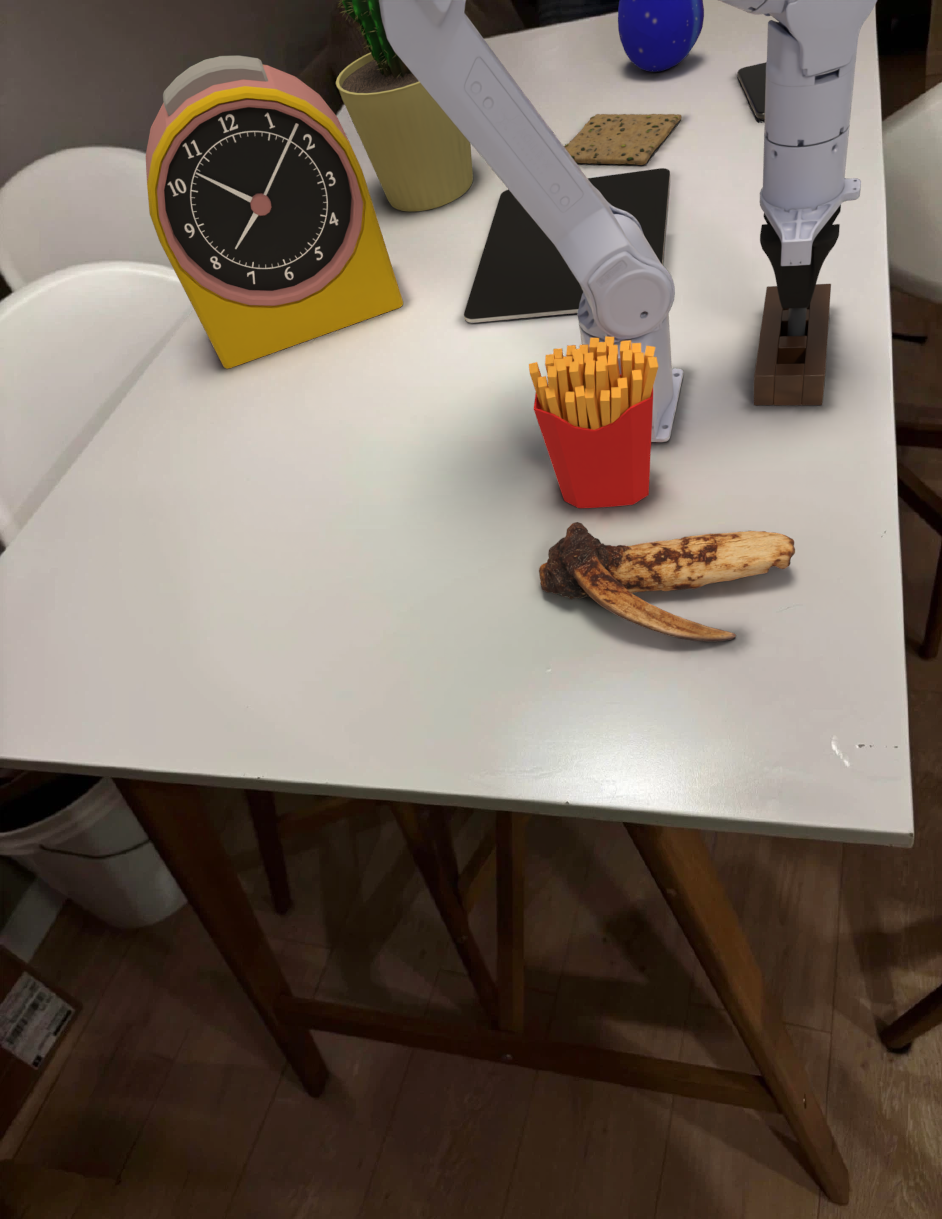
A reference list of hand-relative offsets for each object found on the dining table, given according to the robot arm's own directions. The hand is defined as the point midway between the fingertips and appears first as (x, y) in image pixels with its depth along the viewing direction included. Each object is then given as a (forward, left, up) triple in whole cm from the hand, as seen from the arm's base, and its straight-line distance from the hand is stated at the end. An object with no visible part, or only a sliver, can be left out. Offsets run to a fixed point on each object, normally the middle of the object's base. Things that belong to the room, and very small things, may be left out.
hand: (796, 298), depth 73 cm
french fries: (-17, +13, -6) cm, 22 cm away
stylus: (0, 0, -6) cm, 6 cm away
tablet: (+21, +24, -6) cm, 32 cm away
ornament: (+66, +21, -6) cm, 70 cm away
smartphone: (+54, +5, -6) cm, 55 cm away
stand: (0, 0, -6) cm, 6 cm away
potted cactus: (+37, +46, -6) cm, 59 cm away
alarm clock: (+9, +52, -6) cm, 53 cm away
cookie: (+45, +23, -6) cm, 51 cm away
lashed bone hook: (-28, +7, -6) cm, 29 cm away
